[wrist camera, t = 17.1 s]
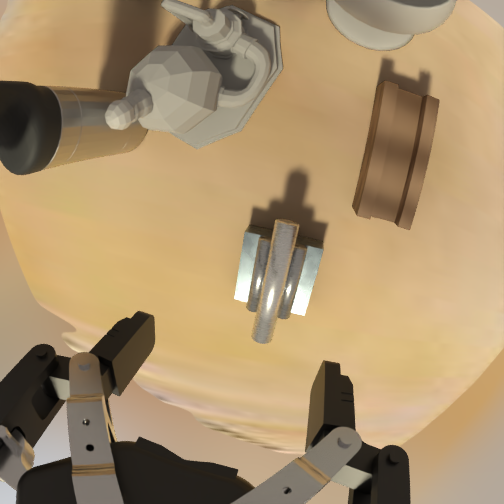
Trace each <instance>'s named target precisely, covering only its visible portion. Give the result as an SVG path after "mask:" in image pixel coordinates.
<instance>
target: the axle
mask: <svg viewBox="0 0 504 504" xmlns="http://www.w3.org/2000/svg"><path fill="white" fill-rule="evenodd" d="M298 230H299V224H298V223H296V222H294V221H291V220H286V219H276V220H275V224H274V229H273V234H272V239H271V244H270V249H269V254H268V259H267V264H266V269H265V274H264V278H263V283H262V288H261V293H260V297H259V302H258V307H257V312H256V316H255V321H254V326H253V330H252V335H251V337H252V339H253V340H254V341H256V342H258V343H262V344H266V343H269V342H271V340H272V337H273V333H274V329H275V325H276V321H277V317H278V314H279V310H280V306H281V302H282V298H283V294H284V289H285V285H286V281H287V277H288V273H289V269H290V264H291V260H292V256H293V252H294V247H295V243H296V239H297V234H298Z"/></svg>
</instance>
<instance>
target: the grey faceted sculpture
mask: <svg viewBox="0 0 504 504" xmlns="http://www.w3.org/2000/svg"><path fill="white" fill-rule="evenodd" d="M161 6H162V7H163V8H164V9H166V10H167V11H169V12H170V13H172V14H173V15H174V16H176V17H177V18H179V19H180V20H181V21H183V22H184V23H185V24H186V25H185V26H184V28H183V29H182V31H181V32H180V34H179V35H178V37H177V38H176V40H175V41H174V43H173V44H172V46H157V47H156V48H155V49H154V50H153V51H151V52H150V53H149V54H148V55H147V56H146V57H145V58H143V59H142V60H141V61H140V62H139V63H138V64H137V65H136V66H135V67H134V68H133V69H132V70H131V71H130V76H129V82H128V87H127V92H126V97H123V98H122V99H121V100H116V101H113V102H112V103H111V104H110V105H109V107H108V109H107V111H106V113H105V119H106V123H107V124H108V125H109V126H110V127H111V128H112V129H118V130H123V129H126V128H128V127H129V125H130V124H131V123H134V122H135V121H136V120H138V121H139V122H140V124H141V125H142V127H144V128H146V129H149V130H154V131H163V132H169V133H171V134H172V135H174V136H175V137H177V138H179V139H180V140H182V141H184V142H186V143H187V144H189V145H191V146H192V147H194V148H196V149H200V148H202V147H204V146H206V145H208V144H211V143H213V142H215V141H218V140H220V139H222V138H225V137H227V136H230V135H233V134H235V133H238V132H240V131H242V129H243V128H244V126H245V125H246V123H247V121H248V120H249V118H250V117H251V115H252V114H253V112H254V111H255V109H256V108H257V106H258V105H259V103H260V102H261V100H262V99H263V97H264V96H265V94H266V93H267V91H268V90H269V89H270V87H271V86H272V84H273V83H274V81H275V80H276V78H277V77H278V75H279V74H280V73H281V71H282V70H283V65H282V57H281V49H280V27H278V26H276V25H274V24H272V23H270V22H268V21H266V20H263V19H261V18H259V17H257V16H254V15H252V14H250V13H248V12H246V11H244V10H242V9H240V8H237V7H235V6H233V5H231V6H226V7H223V8H221V9H206V10H202V9H200V8H197V7H194V6H192V5H189V4H186V3H183V2H180V1H177V0H163V1H162V3H161Z"/></svg>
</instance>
